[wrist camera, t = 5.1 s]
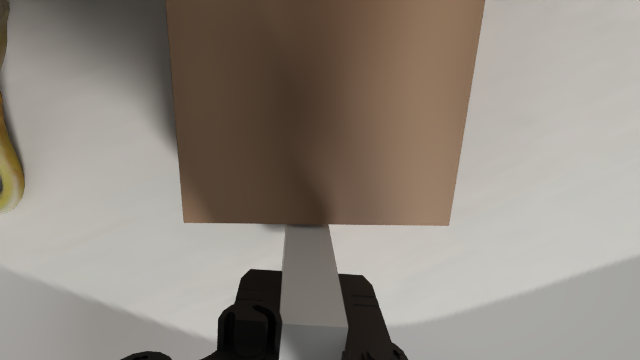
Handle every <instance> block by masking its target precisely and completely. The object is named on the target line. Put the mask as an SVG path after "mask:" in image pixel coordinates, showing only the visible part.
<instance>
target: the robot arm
mask: <svg viewBox="0 0 640 360" xmlns="http://www.w3.org/2000/svg"><path fill="white" fill-rule="evenodd" d="M121 360H172V359H171V358H170V357H169V356H167V355H165V354H163V353H161V352H152V351H146V352H140V353H136V354H132V355H130V356H127V357H125V358H123V359H121ZM201 360H408V359H407V357H406V355H405V354H404V352H403V351H402V350H401V349H400V348H399V347H398V346H397V345H395V344H394V343H392V342H391V339H390V336H389V333H388V330H387V328H386V325H385V322H384V319H383V316H382V313H381V310H380V308H379V304H378V301H377V298H376V295H375V292H374V289H373V286H372V285H371V284H370V283H369V282H368V280H367V279H366V278H365V277H364V276H363V275H350V274H338V272H337V267H336V261H335V256H334V251H333V246H332V241H331V236H330V231H329V226H328V224H286V229H285V239H284V250H283V261H282V271H272V270H257V269H250V270H249V271H248V272H247V273H246V274H245V275H244V276H243V277H242V278H241V281H240V284H239V288H238V292H237V296H236V301H235V303H234V304H233V305H231V306H230V307H228V308H227V309H225V310H224V311H223V312H222V314H221V315H220V317H219V318H218V340H217V350H216V351H215V352H214V353H212V354H211V355H209V356H207V357H205V358H203V359H201Z"/></svg>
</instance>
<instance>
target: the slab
mask: <svg viewBox="0 0 640 360" xmlns="http://www.w3.org/2000/svg"><path fill="white" fill-rule="evenodd" d="M165 3H166V15H167V27H168V39H169V51H170V63H171V75H172V87H173V99H174V111H175V123H176V135H177V147H178V159H179V171H180V183H181V195H182V207H183V219H184V223H257V224H346V225H435V226H449V221H450V215H451V209H452V203H453V196H454V190H455V184H456V178H457V172H458V165H459V159H460V153H461V147H462V141H463V134H464V128H465V122H466V116H467V110H468V103H469V97H470V91H471V85H472V79H473V73H474V66H475V60H476V54H477V48H478V42H479V35H480V29H481V23H482V17H483V11H484V4H485V0H165Z"/></svg>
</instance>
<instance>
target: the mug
mask: <svg viewBox="0 0 640 360" xmlns="http://www.w3.org/2000/svg"><path fill="white" fill-rule="evenodd" d="M9 10H10V9H9V2H8V1H7V0H0V70H1V68H2V64H3V61H4V58H5V54H6V47H7V19H8V15H9ZM2 103H3V100H2V94H1V92H0V176H1V179H2V185H3V190H2V191H1V193H0V215H1V214H5V213H7V212H9V211H11V210H12V209H14V207H15V206H16V205H17V204H18V202H19V201H20V200H21V198H22V196H23V193H24V187H25V181H24V174H23V171H22V168H21V165H20V162H19V159H18V157H17V155H16V153H15V150H14V148H13V146H12V144H11V141H10V139H9V136H8V133H7V129H6V125H5V121H4V114H3V106H2Z"/></svg>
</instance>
